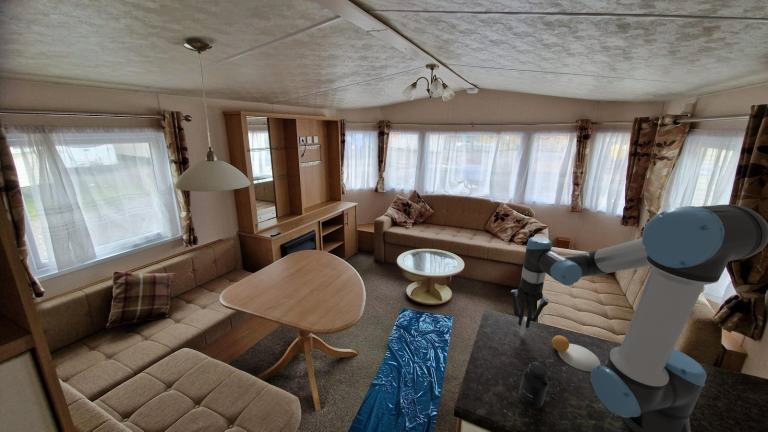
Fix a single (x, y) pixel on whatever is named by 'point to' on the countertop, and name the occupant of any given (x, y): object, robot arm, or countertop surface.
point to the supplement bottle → (533, 385)
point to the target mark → (580, 358)
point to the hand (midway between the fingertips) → (522, 332)
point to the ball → (560, 343)
